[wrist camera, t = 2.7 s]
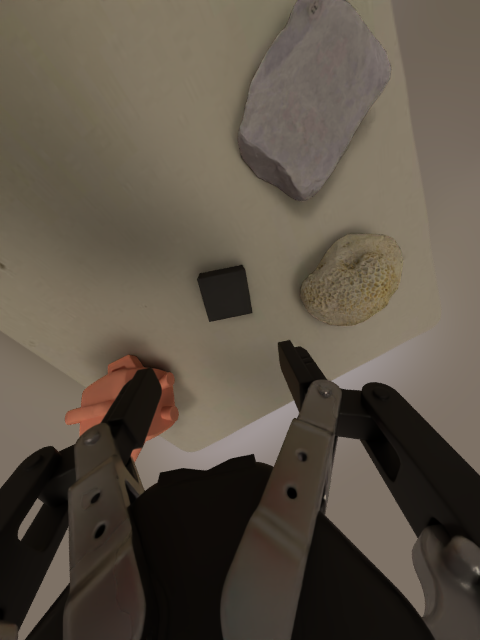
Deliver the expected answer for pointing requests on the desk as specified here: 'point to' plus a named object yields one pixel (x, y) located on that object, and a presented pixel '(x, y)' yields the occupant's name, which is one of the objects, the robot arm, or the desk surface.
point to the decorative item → (353, 279)
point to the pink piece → (108, 388)
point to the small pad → (225, 293)
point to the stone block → (311, 96)
